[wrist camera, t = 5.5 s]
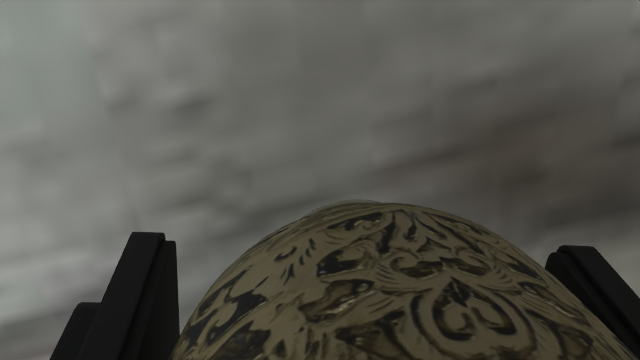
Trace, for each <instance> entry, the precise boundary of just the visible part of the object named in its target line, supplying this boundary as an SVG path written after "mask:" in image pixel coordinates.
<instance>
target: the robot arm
mask: <svg viewBox="0 0 640 360" xmlns="http://www.w3.org/2000/svg"><path fill="white" fill-rule="evenodd" d="M545 270H547V271H548V272H549V273H550V274H552V275H553V276H554V277H555V278H556V279H557V280H559V281H560V282H561V283H562V284H563V285H564V286H565V287H566V288H567V289H568V290H569V291H570V292H571V293H573V294H574V295H575V296H576V297H577V298H578V299H579V300H580V301H581V302H582V303H583V304H584V305H585V306H586V307H587V308H588V309H589V310H590V311H591V312H592V313H593V314H594V315H595V316H596V317H597V318H598V319H599V320H600V321H601V322H602V323H603V324H604V325H605V326H606V327H607V328H608V329H609V330H610V331H611V332H612V333H613V334H614V335H615V336H616V337H617V338H618V339H619V340H620V341H621V342H622V343H623V344H624V345H625V346H626V347H627V348H628V349H629V350H630V351H631V352H632V353H633V354H634V355H635V356H636V357H637V358H638V359H639V360H640V298H639V297H638V296H637V295H636V294H635V293H634V291H633V290H632V289H631V288H630V287H629V286H628V285H627V283H626V282H625V281H624V280H623V279H622V278H621V277H620V276H619V274H618V273H617V272H616V271H615V270H614V269H613V268H612V267H611V265H610V264H609V263H608V262H607V261H606V260H605V259H604V258H603V256H602V255H601V254H600V253H599V252H598V251H597V250H596V249H595V248H594V247H591V246H569V245H563V246H561V247H559V249H558V250H557V252H553V253H551V254H550V255H549V257H548V259H547V262H546V266H545ZM179 337H180V331H179V306H178V281H177V257H176V243H175V241H166V240H165V234H164V233H155V232H132V234H131V235H130V237H129V240H128V242H127V244H126V246H125V249H124V251H123V253H122V256H121V258H120V260H119V262H118V265H117V267H116V269H115V272H114V274H113V276H112V278H111V281H110V283H109V285H108V287H107V290H106V292H105V294H104V297H103V299H102V301H101V303H96V302H81V303H79V304H78V305H77V306H76V308H75V310H74V311H73V313H72V315H71V317H70V319H69V321H68V323H67V325H66V327H65V329H64V331H63V333H62V336H61V338H60V340H59V342H58V344H57V346H56V348H55V350H54V352H53V354H52V356H51V358H50V360H168V359H169V357H170V355H171V353H172V351H173V349H174V347H175V344H176V343H177V341H178V339H179Z"/></svg>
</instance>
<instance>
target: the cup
mask: <svg viewBox="0 0 640 360" xmlns="http://www.w3.org/2000/svg"><path fill="white" fill-rule="evenodd" d="M168 360H639V359H638V358H637V357H636V356H635V355H634V354H633V353H632V352H631V351H630V350H629V349H628V348H627V347H626V346H625V345H624V344H623V343H622V342H621V341H620V340H619V339H618V338H617V337H616V336H615V335H614V334H613V333H612V332H611V331H610V330H609V329H608V328H607V327H606V326H605V325H604V324H603V323H602V322H601V321H600V320H599V319H598V318H597V317H596V316H595V315H594V314H593V313H592V312H591V311H590V310H589V309H588V308H587V307H586V306H585V305H584V304H583V303H582V302H581V301H580V300H579V299H578V298H577V297H576V296H575V295H574V294H573V293H571V292H570V291H569V290H568V289H567V288H566V287H565V286H564V285H563V284H562V283H561V282H560V281H559V280H557V279H556V278H555V277H554V276H553V275H552V274H550V273H549V272H548V271H547V270H545V269H544V268H543V267H542V266H541V265H539V264H538V263H537V262H536V261H534V260H533V259H532V258H531V257H529V256H528V255H527V254H525V253H524V252H523V251H521V250H520V249H519V248H517V247H516V246H514V245H513V244H511V243H509V242H508V241H506V240H505V239H503V238H502V237H500V236H498V235H497V234H495V233H493V232H491V231H490V230H488V229H486V228H484V227H483V226H481V225H478V224H476V223H473V222H471V221H469V220H466V219H464V218H461V217H458V216H455V215H452V214H449V213H446V212H442V211H439V210H435V209H432V208H428V207H422V206H416V205H411V204H399V203H381V202H377V201H371V200H360V199H359V200H345V201H339V202H334V203H330V204H327V205H324V206H322V207H320V208H317V209H315V210H313V211H311V212H310V213H308V214H306V215H305V216H303V217H302V218H301V219H299V220H297V221H295V222H292V223H290V224H288V225H286V226H284V227H282V228H280V229H278V230H277V231H275V232H273V233H271V234H270V235H268V236H266V237H265V238H263V239H262V240H261V241H259V242H258V243H257V244H255V245H254V246H252V247H251V248H250V249H248V250H247V251H246V252H245V253H244V254H243V255H242V256H240V257H239V258H238V259H237V260H236V261H235V262H234V263H233V264H232V265H231V266H229V267H228V268H227V269H226V270H225V271H224V272H223V273H222V274H221V276H220V277H219V278H218V279H217V280H216V281H215V283H214V284H213V285H212V286H211V287H210V289H209V290H208V292H207V293H206V295H205V296H204V298H203V299H202V301H201V302H200V303H199V305H198V306H197V308H196V309H195V311H194V313H193V314H192V316H191V317H190V319H189V320H188V322H187V324H186V326H185V327H184V329H183V331H182V333H181V335H180V337H179V339H178V341H177V343H176V344H175V347H174V349H173V351H172V353H171V355H170V357H169V359H168Z"/></svg>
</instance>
